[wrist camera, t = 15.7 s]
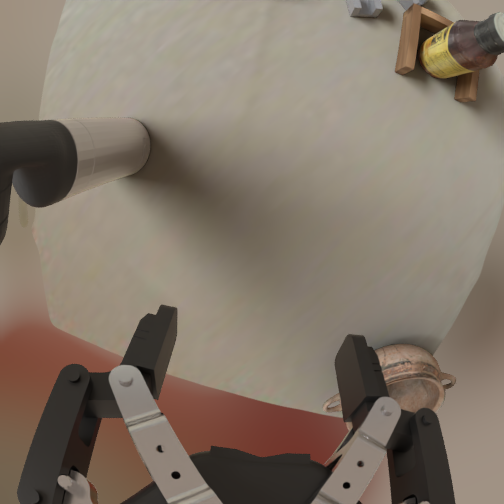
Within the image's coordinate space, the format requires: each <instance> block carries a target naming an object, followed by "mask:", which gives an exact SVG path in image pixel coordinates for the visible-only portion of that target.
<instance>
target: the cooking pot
mask: <svg viewBox="0 0 504 504" xmlns="http://www.w3.org/2000/svg"><path fill="white" fill-rule="evenodd" d="M374 351H375V352H376V354H377V355H378V358H379V362H380V365H381V368H382V372H383V375H384V379H385V382H386V386H387V389H388V393H389V397H390V398H392V399H394V400H395V401H396V402H397V403H398V404H399V406H400V409H403V410H407V411H410V412H414V413H416V412H417V411H418V410H419V409H421V408H429V409H431V410H432V411H434V412H435V414H436V413H437V412H438V411H439V409H440V408H441V406H442V404H443V402H444V399H445V389H448V388H451V387H452V386H454V384H455V382H456V378H455V377H454V376H452V375H450V374H446V373H442V372H440V368H439V365H438V363H437V361H436V359H435V358H434V357H433V356H432V355H431V354H430V353H429V352H427V351H426V350H425V349H423V348H420V347H418V346H415V345H410V344H394V345H389V346H385V347H382V348H379V349H376V350H374ZM444 379H449V380H451V383H449V384H446V385H442V384H441V380H444ZM338 400H340V393H338V394H336V395H335V396H333V397H331V398H330V399H328V400H327V401H326V402H325V403H324V404H323V410H324V411H325V412H335V411H342V406H341V400H340V404H339V405H337V406H335V407H331V408H328V406H329V405H330V404H331V403H333V402H335V401H338ZM346 425H347V428H348V430H350V429H351V428H352V427H353V426H352V422H346Z"/></svg>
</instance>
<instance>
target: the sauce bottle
mask: <svg viewBox="0 0 504 504" xmlns="http://www.w3.org/2000/svg"><path fill="white" fill-rule="evenodd" d="M503 52H504V13H500V12H498V13H495V14H492V15H490V16H489V18H488V19H486V20H485V21H481V22H479V21H468V20H459V21H456V22H455V23H453V24H451V25H450V26H448V27H446V28H445V29H443V30H441V31H440V32H438V33H437V34H435V35H433V36H432V37H430V38H429V39H427V40H426V41H424V42H423V43H422V45H421V47H420V48H419V50H418V57H419V61H420V64H421V66H422V67H423V68H424V70H425V71H426V72H427V73H428V74H430V75H431V76H433V77H435V78H450V77H453V76H457V75H461V74H465V73H469V72H474V71H478V70H480V69H482V68H487V67H490V66H492V65H493V64H494V62H495V61H496V59H497V56H498V55H499V54H501V53H503Z"/></svg>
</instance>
